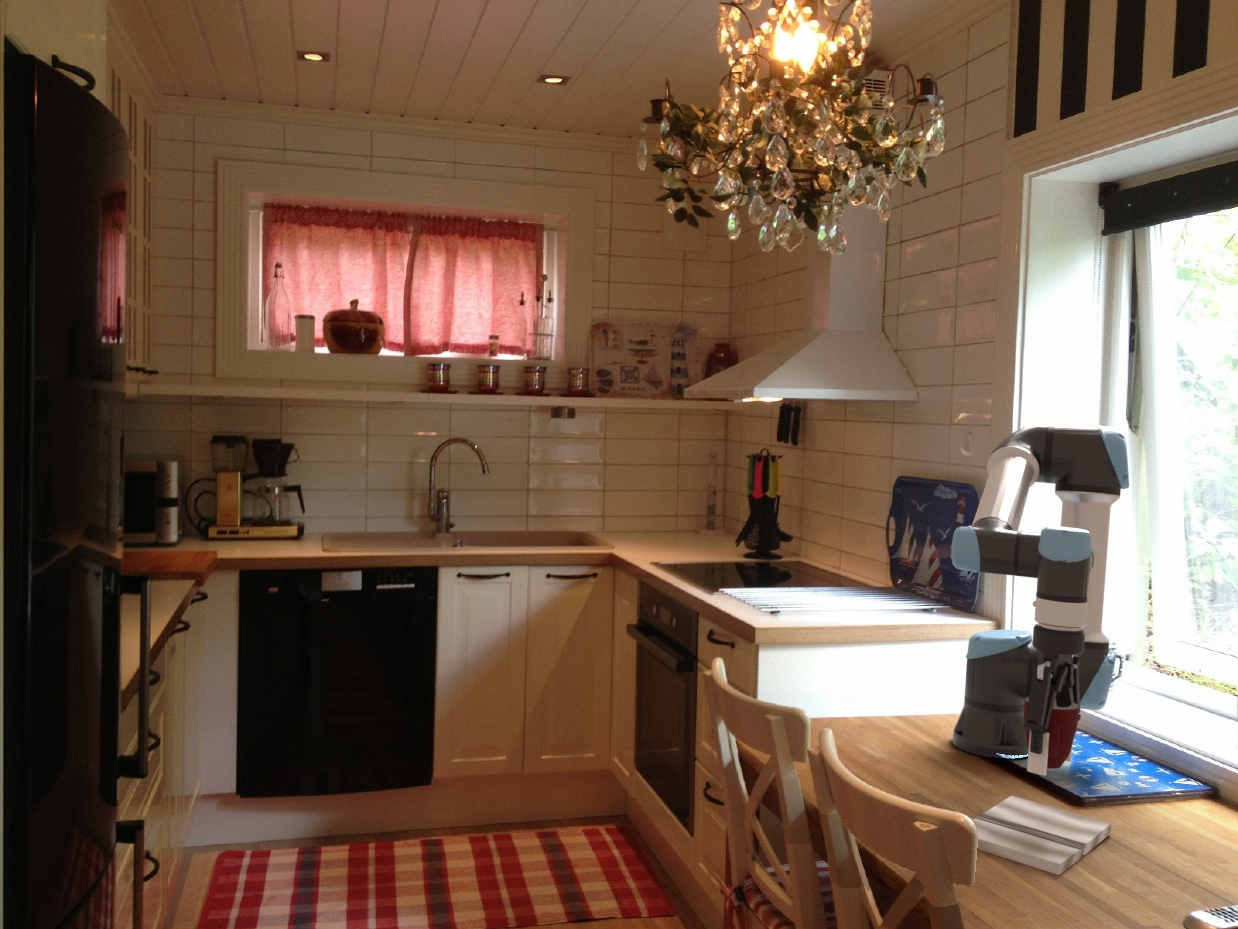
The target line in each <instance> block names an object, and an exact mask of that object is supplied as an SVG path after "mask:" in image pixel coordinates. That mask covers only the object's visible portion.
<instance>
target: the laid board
mask: <svg viewBox="0 0 1238 929" xmlns="http://www.w3.org/2000/svg"><path fill="white" fill-rule="evenodd" d="M972 820H973V821H975V825H976V827H977V829H978V849H977V850H979V851H982V852H986V853H989V854H992V855H995V856H998V857H1001V858H1004V859H1007V860H1010V861H1014V862H1015V863H1019V864H1022V865H1026V866H1029V867H1032V868H1036V869H1038V870H1042V871H1044V872H1048V873H1051V874H1054V875H1057V876H1061V874H1063V873H1064V872H1065V871H1067V870H1069V869H1070V868H1071V867H1072V866H1073V865H1075V862H1076V863H1077V862H1078V861H1079V860H1081V859H1082V855H1081V851H1082V847H1079V846H1076V845H1073V844H1069V843H1066V842H1063V841H1059V840H1056V839H1053V838H1049V837H1046V836H1043V835H1039V834H1036V833H1033V832H1029V831H1026V830H1022V829H1019V828H1016V827H1012V826H1009V825H1006V824H1002V823H999V822H996V821H992V820H989V819H986V818H982V817H981V816H979V815H977V816H976V817H975V818H973V819H972ZM1066 869H1067V870H1066Z"/></svg>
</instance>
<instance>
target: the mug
mask: <svg viewBox="0 0 1238 929" xmlns="http://www.w3.org/2000/svg"><path fill="white" fill-rule="evenodd" d="M1028 700H1029V697H1027V698H1025V701H1024V712H1023V716H1024V723H1025V717H1026V711H1027V705H1028ZM1079 714H1080V713H1079V706H1078V705H1077V704H1076V703H1073V702H1072V703H1071V705H1070V706H1068V707H1058V706H1057V704H1056V698H1055V701H1054V705H1053V709H1052V713H1051V717H1050V721H1049V724H1048V728H1047V733H1049V746H1048V760H1047V769H1051V770H1053V769H1054V770H1055V769H1060V768H1061V767H1062V766H1063V765H1064V764H1065V762H1066V761H1065V760H1066V759H1067V757H1068V756H1069V754H1070V751H1071V748H1072V749H1073V745H1074V740H1075V736H1076V732H1077V730H1078V729H1077V728H1078V723H1079V721H1078V716H1079ZM1036 723H1037V722H1036ZM1025 735H1026V743H1027V748H1028V751H1029V736H1030V730H1026V729H1025Z"/></svg>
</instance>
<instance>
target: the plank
mask: <svg viewBox="0 0 1238 929" xmlns="http://www.w3.org/2000/svg"><path fill="white" fill-rule="evenodd" d="M980 817H982V818H986V819H989V820H992V821H996V822H999V823H1002V824H1006V825H1009V826H1012V827H1016V828H1019V829H1022V830H1026V831H1029V832H1033V833H1036V834H1039V835H1043V836H1046V837H1049V838H1053V839H1056V840H1059V841H1063V842H1066V843H1069V844H1073V845H1076V846H1079V847H1082V851H1081V856H1082V855H1083V856H1082V857H1085V856H1086V855H1087V854H1088V853H1090V852H1091V851H1092V850H1093V849H1094V848H1095V847H1097V845H1099V844H1100V843H1101V842H1103V841H1104V840H1105V839H1106V838H1107V837H1108V836H1109V835H1111V833H1112V823H1111V822H1108V821H1104V820H1100V819H1097V818H1094V817H1091V816H1090V817H1089V816H1086V815H1083V814H1078V813H1075V812H1072V811H1069V810H1066V809H1065V810H1064V809H1061V808H1058V807H1053V806H1051V805H1047V804H1044V803H1039V802H1037V801H1034V800H1033V801H1032V800H1029V799H1026V798H1022V797H1018V796H1014V795H1010V796H1009V797H1007V798H1005V799H1004V800H1002V801H1001V802H999V803H997V804H996V805H994V806H993V807H991V808H990V809H988V810H986V811H985V812H983V813H981V814H980ZM1084 855H1085V856H1084Z"/></svg>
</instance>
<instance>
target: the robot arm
mask: <svg viewBox="0 0 1238 929" xmlns="http://www.w3.org/2000/svg"><path fill="white" fill-rule="evenodd" d="M1127 448H1128V447H1127V437H1126V433H1125V432H1124V431H1123V429H1121V428H1118V427H1112V426H1103V425H1100V424H1099V425H1088V424H1087V425H1085V424H1084V425H1082V424H1059V423H1058V424H1054V423H1052V424H1051V423H1037V424H1030V425H1027V426H1024V427H1022V428H1020V429H1017V430H1015V431H1014V432H1012V433H1010V434H1008V435H1007V436H1005V437H1004V438H1003V439H1002V440H1001V441H1000V442H998V444H997V445H996V446H995V447H994V448H993V450H992V451H991V452H990V456H989V457H988V461H987V465H986V471H987V475H988V477H987V481H986V483H985V487H984V490H983V492H982V495H981V498H980V501H979V503H978V506H977V509H976V512H975V516H974V518H973V522H972V524H971V525H968V526H958V527H956V529H955V530H954V533H953V537H952V540H951V542H952V543H951V563H952V565H953V566H954V568H955V569H957V570H962V571H968V572H973V573H975V574H978V573H983V574H993V575H1003V576H1004V575H1005V576H1006V575H1007V576H1015V577H1021V578H1023V577H1024V578H1033V579H1036V580H1037V581H1036V592H1035V593H1036V594H1035V600H1034V601H1032V606H1033V608H1034V621H1035V622H1036V624H1035V625H1034V626H1033V632H1032V634H1033V635H1032V634H1031V633H1030V632H1029V631H1027V630H1021V629H1020V630H1019V629H990V630H989V629H988V630H983V631H979V632H976V633H974V634H972V635H971V636H970V638H969V640H968V645H967V653H966V655H965V658H966V670H965V672H966V674H965V687H964V699H963V700H964V702H963V707H962V708H961V712H960V713H959V716H958V718H957V721H956V723H955V726H954V728H953V732H952V740H951V741H952V742H951V743H952V745H953V746H955V747H956V748H958V749H959V750H961V751H964V752H966V753H969V754H972V755H976V756H979V757H985V758H991V759H993V758H992V755H993V754H996V753H999V754H1005V755H1011V756H1012V755H1014V756H1015V755H1018V756H1019V755H1027V754H1028V758H1027V765H1026V766H1027V769H1026V771H1027V772H1029V773H1032V774H1034V775H1040V776H1043V777H1044V776H1047V775H1048V774H1047V772H1048V771H1047V770H1048V768H1047V760H1048V746H1049V733H1047V728H1048V724H1049V721H1050V717H1051V713H1052V709H1053V705H1054V701H1055V698H1056V704H1057V706H1058V707H1068V706H1070V705H1071V703H1072V702H1073V703H1076V704H1077V705H1078V706H1079V716H1078V722H1080V721H1081V717H1082V716H1081V714H1080V713H1081V710H1089V711H1099V710H1102V709H1103V708H1104V707H1105V706H1106V704H1107V699H1108V695H1109V690H1110V686H1111V682H1112V678H1113V674H1114V673H1113V672H1114V668H1115V663H1116V660H1117V652H1116V651H1114V650H1113V649H1109V648H1110V640H1109V639H1108V637H1107V636H1106V635H1105V634H1104V633H1103V630H1102V628H1103V613H1104V599H1105V586H1106V585H1105V584H1106V574H1107V573H1106V571H1107V560H1108V548H1109V547H1108V546H1109V534H1110V518H1111V507H1112V505H1113V504H1115V503H1116V502H1117V501H1118V500H1119V499H1120V498H1121V490H1125V489H1129V488H1130V476H1129V459H1128V449H1127ZM1035 483H1045V484H1054V486H1055V487H1054V494H1055V495H1056V496H1057V497H1058V498H1059V500H1060V501H1061V502H1062V503H1061V505H1062V506H1061V518H1060V526H1045V527H1043V529H1041V532H1039V533H1038V532H1029V531H1028V532H1027V531H1021V530H1020V531H1019V528H1020V524H1021V521H1022V517H1023V512H1024V510H1025V506H1026V502H1027V499H1028V494H1029V491H1030V488H1031V487H1032V486H1033V485H1035ZM1027 697H1029V700H1028V705H1027V711H1026V717H1025V723H1024V716H1023V712H1024V701H1025V698H1027ZM1036 722H1037V723H1036ZM1025 729H1026V730H1030V736H1029V751H1028V748H1027V743H1026V735H1025ZM1072 754H1073V747H1072V748H1071V751H1070V754H1069V756H1068V757H1067V759H1066V760H1065V762H1069V763H1070V762H1072V756H1073V755H1072Z"/></svg>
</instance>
